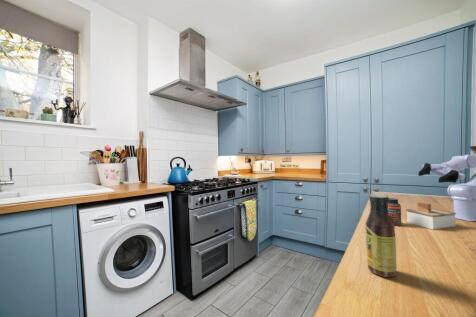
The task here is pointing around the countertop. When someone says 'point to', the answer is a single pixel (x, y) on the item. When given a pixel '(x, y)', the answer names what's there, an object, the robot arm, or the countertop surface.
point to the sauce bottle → (380, 238)
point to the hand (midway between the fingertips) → (429, 177)
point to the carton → (431, 220)
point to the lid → (429, 210)
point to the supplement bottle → (394, 211)
